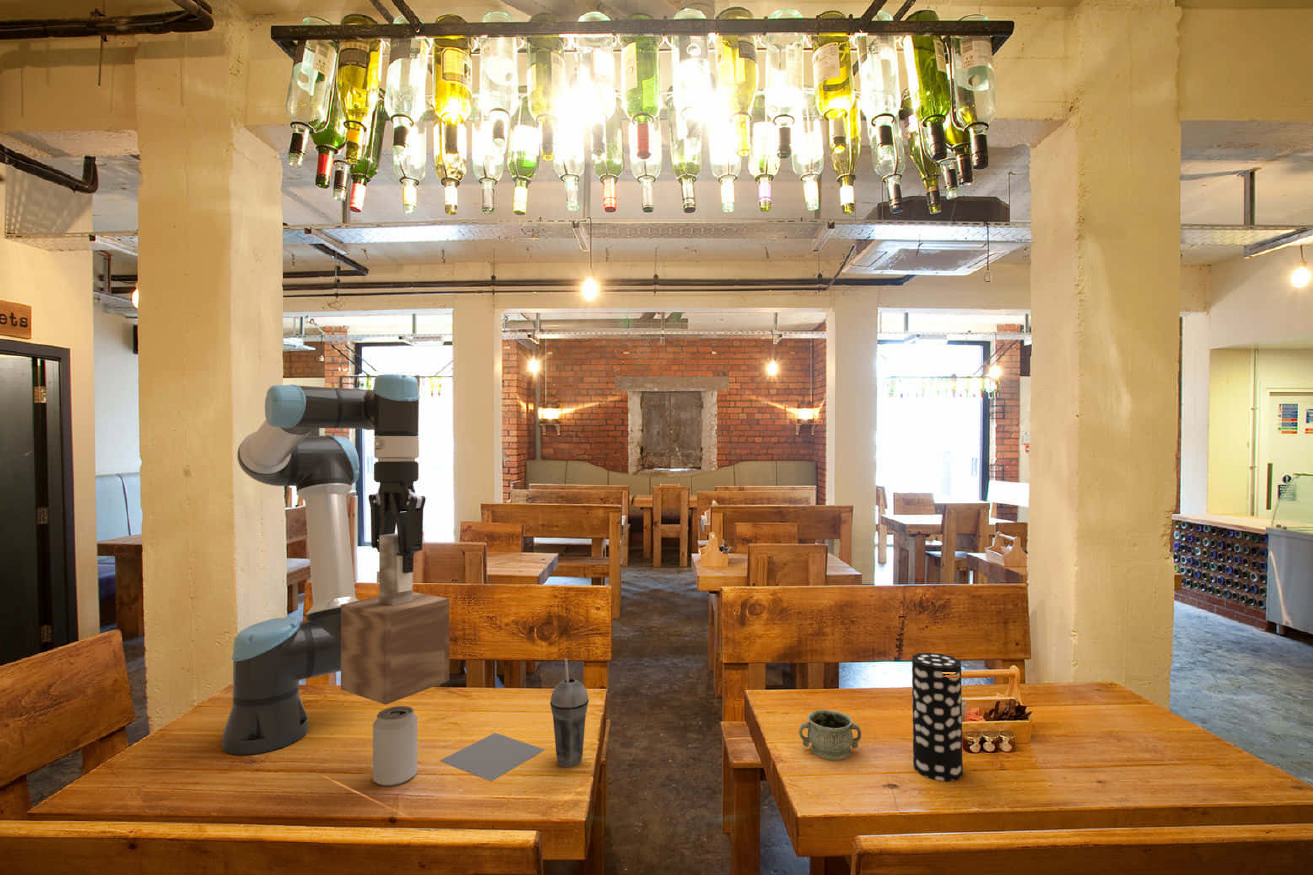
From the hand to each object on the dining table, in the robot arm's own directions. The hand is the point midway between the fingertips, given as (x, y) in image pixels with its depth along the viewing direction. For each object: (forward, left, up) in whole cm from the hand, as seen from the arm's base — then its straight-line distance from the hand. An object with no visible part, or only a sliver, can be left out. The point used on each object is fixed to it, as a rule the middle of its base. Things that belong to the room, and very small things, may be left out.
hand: (396, 589), depth 115 cm
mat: (+9, +15, -34) cm, 38 cm away
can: (0, 0, -34) cm, 34 cm away
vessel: (+63, +52, -34) cm, 88 cm away
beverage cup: (+23, +21, -34) cm, 46 cm away
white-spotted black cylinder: (+82, +55, -34) cm, 104 cm away
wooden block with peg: (0, 0, -17) cm, 17 cm away
